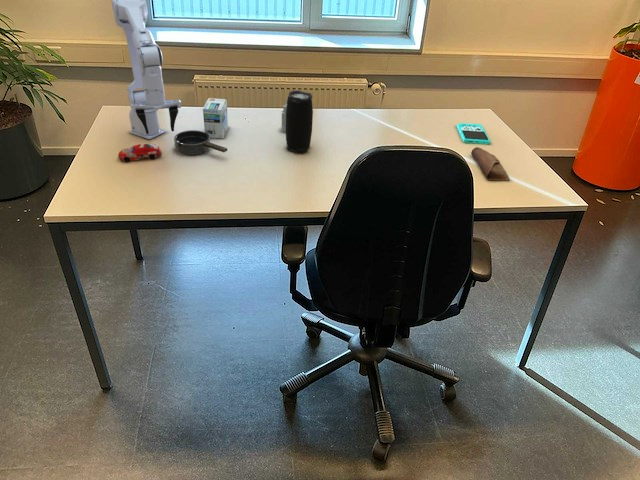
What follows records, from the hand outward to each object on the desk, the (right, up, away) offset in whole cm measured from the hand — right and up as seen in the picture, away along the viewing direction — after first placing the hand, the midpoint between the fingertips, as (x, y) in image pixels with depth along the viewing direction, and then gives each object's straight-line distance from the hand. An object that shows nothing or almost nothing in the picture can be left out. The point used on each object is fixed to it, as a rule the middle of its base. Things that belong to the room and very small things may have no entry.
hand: (160, 131), depth 164 cm
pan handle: (+16, -4, +8) cm, 18 cm away
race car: (-8, -7, +6) cm, 13 cm away
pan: (+7, -3, +13) cm, 15 cm away
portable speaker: (+43, -3, +18) cm, 46 cm away
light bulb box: (+13, +5, +25) cm, 28 cm away
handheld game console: (+109, +6, +36) cm, 115 cm away
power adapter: (+39, +6, +30) cm, 49 cm away
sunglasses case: (+108, -10, +14) cm, 109 cm away
